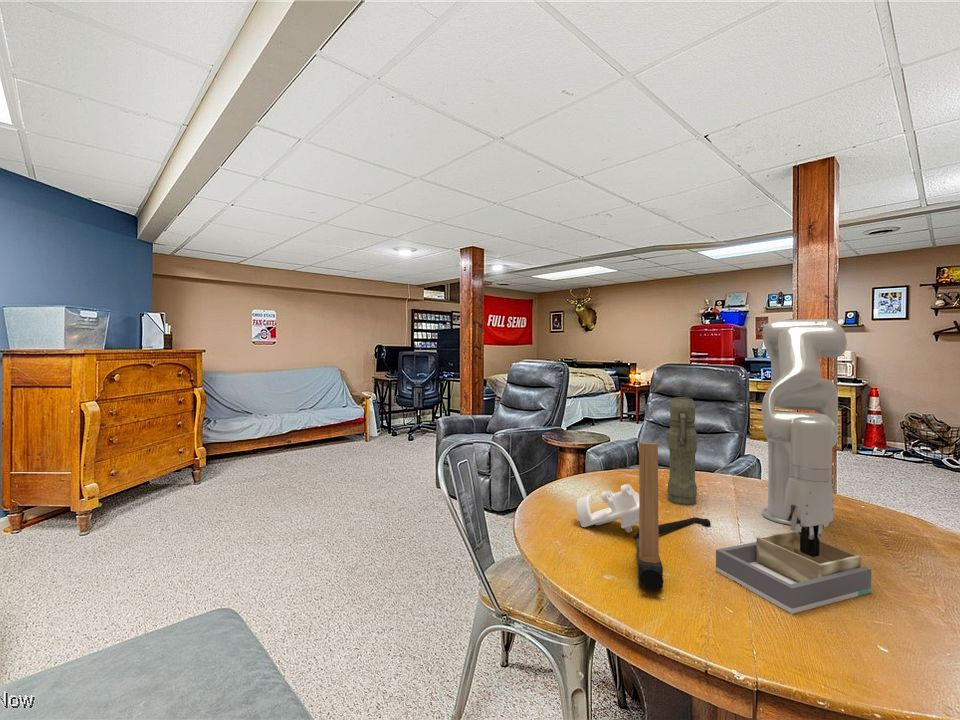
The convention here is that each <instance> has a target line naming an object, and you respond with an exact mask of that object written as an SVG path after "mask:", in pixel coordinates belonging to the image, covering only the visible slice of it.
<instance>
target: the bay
mask: <svg viewBox="0 0 960 720" xmlns="http://www.w3.org/2000/svg"><path fill="white" fill-rule="evenodd" d="M756 558H757V541H754V542H749V543H743V544H739V545H738V544H737V545H733V546H728V547H723V548H718V549H715V572H717V571H718V572H720V573H721V575H722V574H723V575H722V576H724V577H726V578H727V577H728V579H729V578H730V579H729V580H731V579H732V581H733V580H734V581H736V582H737V583H736V582H735V583H736V584H738V583H739V584H738V585H740V584H741V585H742V586H741V585H740V586H741V587H743V586H744V587H743V588H745V589H747V590H749V591H750V592H752V593H754V594H756V595H758V596H759V597H761V598H763V599H765V600H766V601H767V602H770V603H771V604H773V605H775V606H777V607H779V608H781V609H783V610H784V611H786V612H787V613H789V614H791V615H793V614H797V613H801V612H804V611H808V610H812V609H814V608H819V607H823V606H827V605H830V604H834V603H839V602H841V601H844V600H845V599H846V600H848V599H853V598H856V597H860V596H864V595H868V594H871V593H872V568H870V567H866V566H863V567H862V566H861V568H857V569H853V570H848V571H844V572H840V573H836V574H832V575H828V576H823V577H819V578H815V579H811V580H807V581H802V582H797V581H795V580H793V579H791V578H789V577H787V576H785V575H783V574H781V573H779V572H777V571H775V570H773V569H771V568H769V567H767V566H765V565H762V564H760V563H758V562H756ZM718 572H717V573H718ZM720 573H719V574H720ZM734 581H733V582H734ZM867 593H868V594H867ZM863 594H864V595H863Z"/></svg>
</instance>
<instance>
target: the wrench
mask: <svg viewBox="0 0 960 720" xmlns="http://www.w3.org/2000/svg"><path fill="white" fill-rule="evenodd" d="M694 524H699V525H702V526H703V527H706V528H710V526H711V524H712V523H711V521H710V520H709V519H708V518H701V517H697V516H696V517H695V516H694V517H691V518H686V519H681V520H676V521H671V522H667V523H662V524H658V526H659V536H662V535H664V534H667V533H670V532H672V531H675V530H678V529H682V528H684V527H688V526H690V525H694ZM637 530H638V531H637V532H634V534H633V536H632V537H633V539H635V540H636V539H639V529H637Z"/></svg>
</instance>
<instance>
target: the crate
mask: <svg viewBox="0 0 960 720" xmlns="http://www.w3.org/2000/svg"><path fill="white" fill-rule="evenodd" d="M756 542H757V558H756V562H758V563H760V564H762V565H765V566H767V567H769V568H771V569H773V570H775V571H777V572H779V573H781V574H783V575H785V576H787V577H789V578H791V579H793V580H795V581H797V582H802V581H807V580H811V579H815V578H819V577H823V576H828V575H832V574H836V573H840V572H844V571H848V570H853V569H857V568H861V567H862V565H861V564H862V563H861V562H862V561H861V560H862V555H861V556H860V555H858V554H855V553H853V552H850V551H848V550H844V549H842V548H840V547H838V546H835V545H831V544H829V543H826V542H824V541H822V540H820V543H819V556H817V557H811V556H809V555H806V554H804V553H802V552H800V535H799V534H798V532H796V531H794V530H790V531H783V532H779V533H774V534H768V535H763V536H758V537H756Z"/></svg>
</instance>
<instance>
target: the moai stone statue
mask: <svg viewBox="0 0 960 720" xmlns="http://www.w3.org/2000/svg"><path fill="white" fill-rule="evenodd" d="M669 409H670V412H669V413H670V414H669V417H670V423H669V429H668V432H667V437H668V438H667V441H668V442H667V445H668V447H667V448H668V451H669V478H668V481H667V494H668V498H667V500H668V501H669V503H672V504H674V505H679V506H694V505H696V504H697V495H698V486H697V483H696V453H697V451H698V434H697V430H696V425H695V422H696V405H695V402H694V399H693V398H691V397H689V396H676V397H674V398H672V400H671V403H670V408H669Z"/></svg>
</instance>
